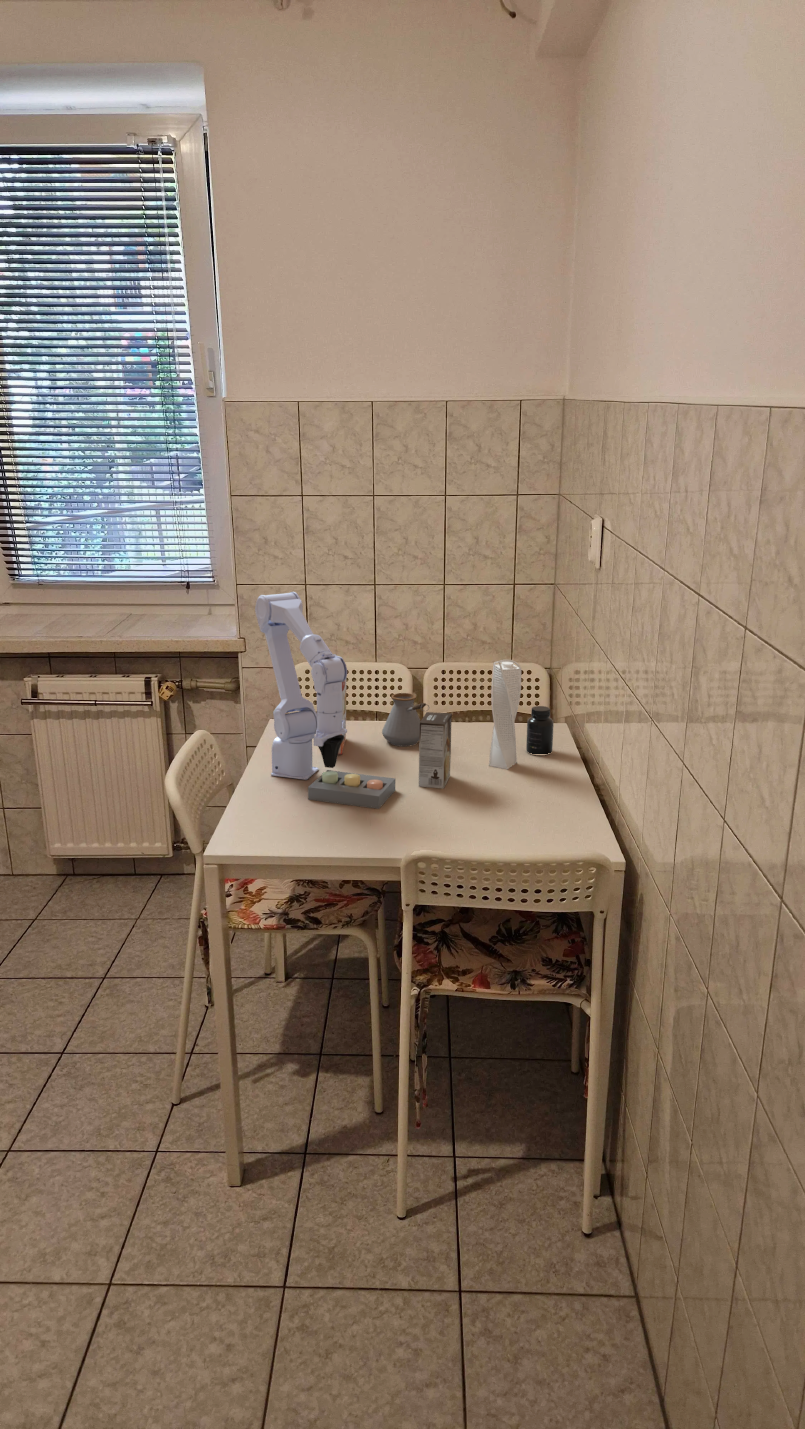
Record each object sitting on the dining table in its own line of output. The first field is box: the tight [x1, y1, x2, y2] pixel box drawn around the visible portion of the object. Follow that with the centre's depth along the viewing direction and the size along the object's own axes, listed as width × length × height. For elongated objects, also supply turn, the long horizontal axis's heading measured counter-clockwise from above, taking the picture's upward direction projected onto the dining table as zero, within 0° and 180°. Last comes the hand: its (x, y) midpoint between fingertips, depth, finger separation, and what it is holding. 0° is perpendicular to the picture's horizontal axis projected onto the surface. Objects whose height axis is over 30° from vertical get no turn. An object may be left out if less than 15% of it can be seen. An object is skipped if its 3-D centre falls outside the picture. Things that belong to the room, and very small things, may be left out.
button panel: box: [307, 769, 396, 810], centre depth 230 cm, size 17×12×3 cm
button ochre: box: [344, 773, 360, 787], centre depth 230 cm, size 4×4×3 cm
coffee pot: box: [381, 692, 430, 747], centre depth 262 cm, size 21×12×15 cm, turn 20°
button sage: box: [321, 770, 338, 784], centre depth 231 cm, size 4×4×3 cm
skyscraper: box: [488, 658, 522, 770], centre depth 248 cm, size 8×8×28 cm
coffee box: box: [418, 711, 453, 789], centre depth 238 cm, size 9×6×16 cm
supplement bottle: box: [525, 705, 554, 754], centre depth 260 cm, size 7×7×12 cm
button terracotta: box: [367, 780, 383, 790], centre depth 229 cm, size 4×4×3 cm
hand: (330, 766), depth 230 cm, fingers closed
